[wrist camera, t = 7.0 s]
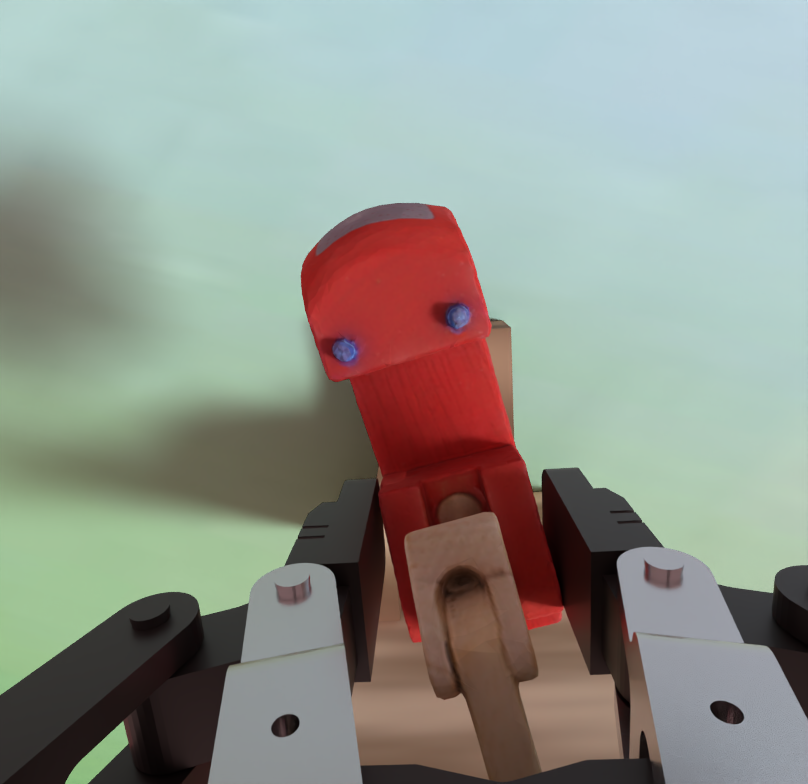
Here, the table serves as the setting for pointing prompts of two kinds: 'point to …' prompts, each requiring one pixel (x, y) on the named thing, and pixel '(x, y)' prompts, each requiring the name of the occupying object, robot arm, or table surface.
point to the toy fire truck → (440, 459)
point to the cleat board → (450, 719)
